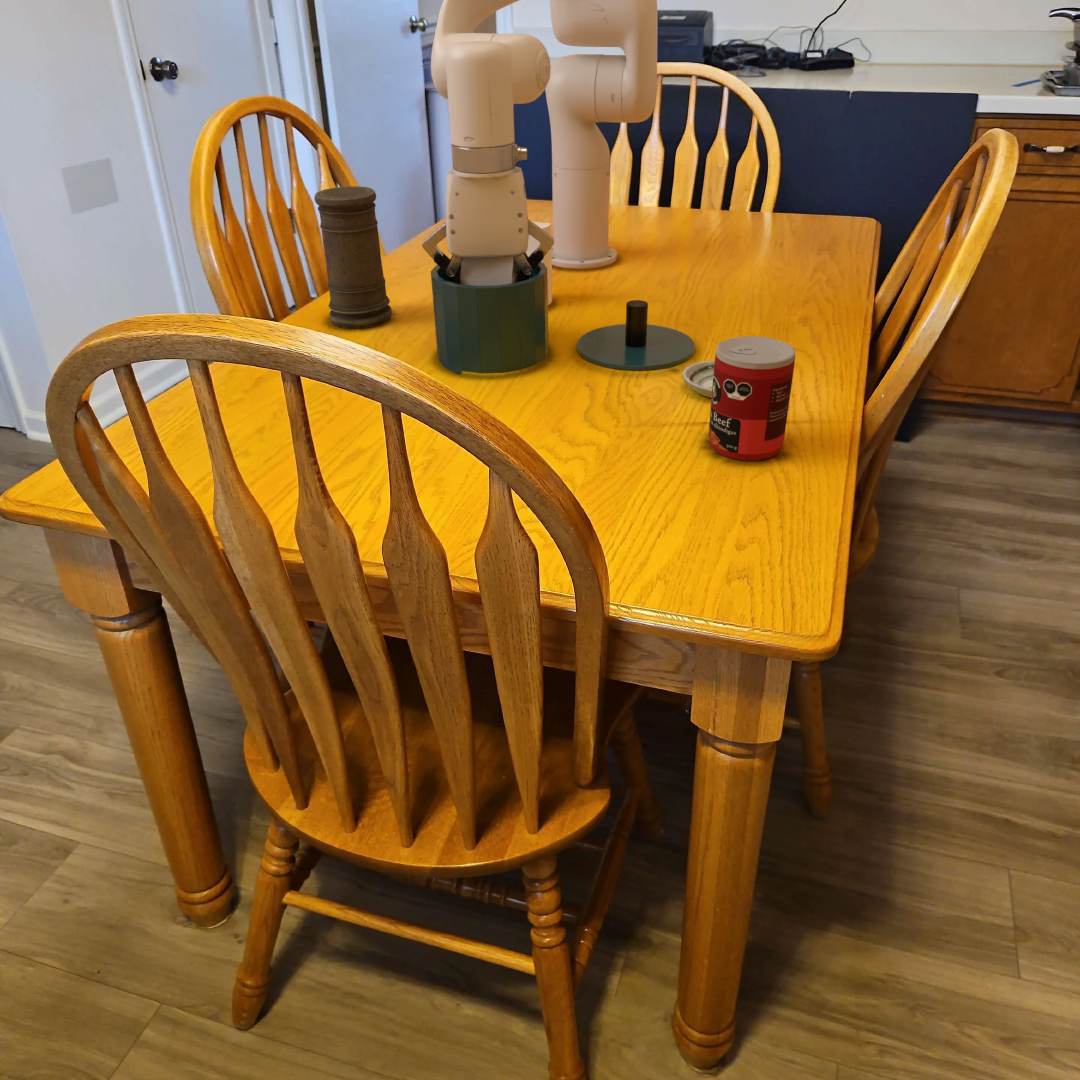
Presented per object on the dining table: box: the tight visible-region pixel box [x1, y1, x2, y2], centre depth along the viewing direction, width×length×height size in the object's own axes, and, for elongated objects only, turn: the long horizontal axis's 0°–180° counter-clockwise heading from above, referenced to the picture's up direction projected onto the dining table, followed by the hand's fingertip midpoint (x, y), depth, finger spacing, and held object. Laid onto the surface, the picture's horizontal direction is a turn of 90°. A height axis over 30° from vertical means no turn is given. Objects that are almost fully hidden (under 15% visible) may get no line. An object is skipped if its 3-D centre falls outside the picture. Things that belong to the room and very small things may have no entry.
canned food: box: [708, 335, 796, 462], centre depth 97 cm, size 8×8×11 cm
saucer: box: [681, 359, 715, 399], centre depth 111 cm, size 10×10×2 cm
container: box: [313, 185, 393, 329], centre depth 132 cm, size 9×9×18 cm
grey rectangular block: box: [460, 256, 519, 286], centre depth 119 cm, size 4×7×10 cm, turn 76°
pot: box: [430, 262, 550, 375], centre depth 121 cm, size 15×15×12 cm
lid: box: [576, 299, 696, 372], centre depth 122 cm, size 16×16×7 cm
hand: (491, 302), depth 120 cm, fingers closed on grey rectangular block, 7 cm apart
